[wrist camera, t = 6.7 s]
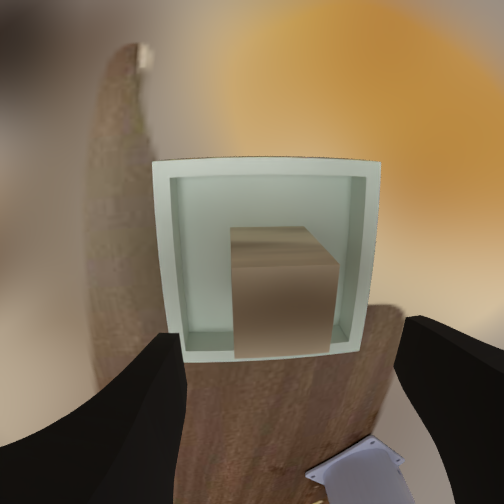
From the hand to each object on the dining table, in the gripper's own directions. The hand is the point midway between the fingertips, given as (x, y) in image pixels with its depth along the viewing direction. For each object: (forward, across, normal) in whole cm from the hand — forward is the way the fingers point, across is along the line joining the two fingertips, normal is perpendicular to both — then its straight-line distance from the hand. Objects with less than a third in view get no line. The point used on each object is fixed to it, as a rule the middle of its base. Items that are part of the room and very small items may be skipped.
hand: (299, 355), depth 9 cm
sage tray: (+9, 0, 0) cm, 9 cm away
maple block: (+9, 0, 0) cm, 9 cm away
